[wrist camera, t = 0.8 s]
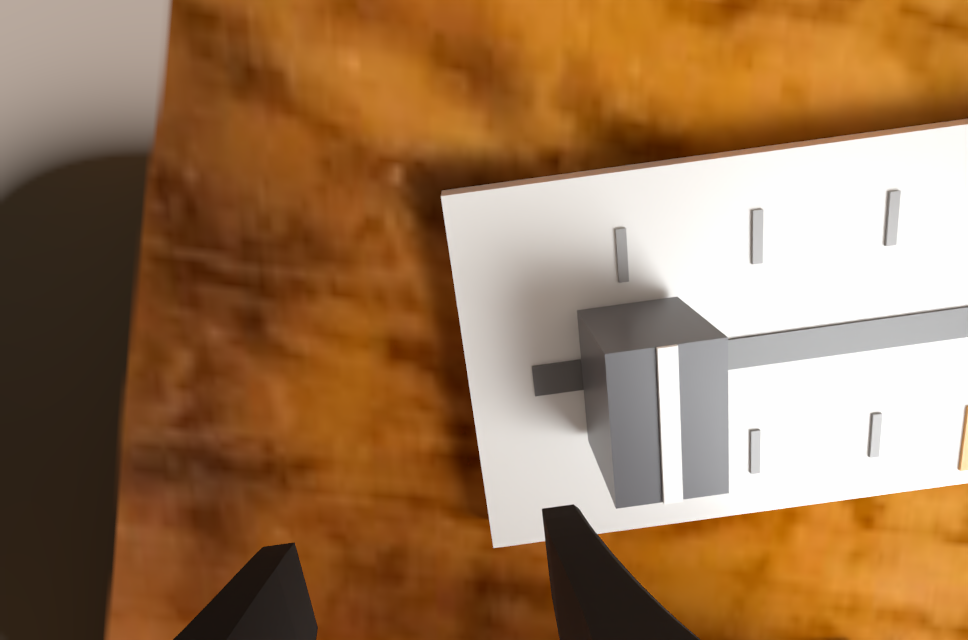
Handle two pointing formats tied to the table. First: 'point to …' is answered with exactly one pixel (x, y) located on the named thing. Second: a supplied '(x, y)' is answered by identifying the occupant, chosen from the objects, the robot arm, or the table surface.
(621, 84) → the table surface
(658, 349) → the fader
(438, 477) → the table surface
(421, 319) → the table surface
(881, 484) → the panel
